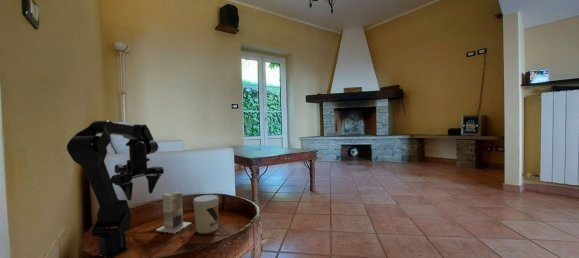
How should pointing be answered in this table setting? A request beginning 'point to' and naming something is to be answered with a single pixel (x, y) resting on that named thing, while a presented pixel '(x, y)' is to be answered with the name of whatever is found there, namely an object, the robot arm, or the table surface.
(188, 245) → the table surface
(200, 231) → the coffee cup
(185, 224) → the ceramic tile
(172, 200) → the letter block
